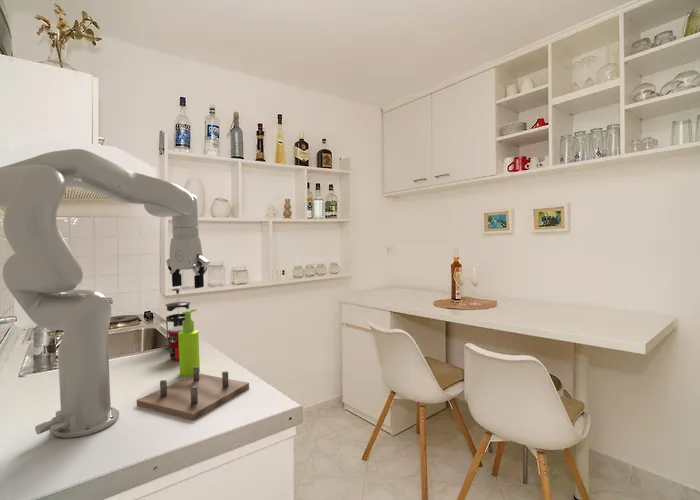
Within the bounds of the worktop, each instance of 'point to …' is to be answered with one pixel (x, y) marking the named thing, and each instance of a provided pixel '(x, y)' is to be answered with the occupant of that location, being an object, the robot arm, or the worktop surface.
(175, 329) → the canned food
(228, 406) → the worktop surface
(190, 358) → the soap dispenser
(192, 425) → the worktop surface
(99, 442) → the worktop surface
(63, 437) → the robot arm
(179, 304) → the french press
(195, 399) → the peg stand
